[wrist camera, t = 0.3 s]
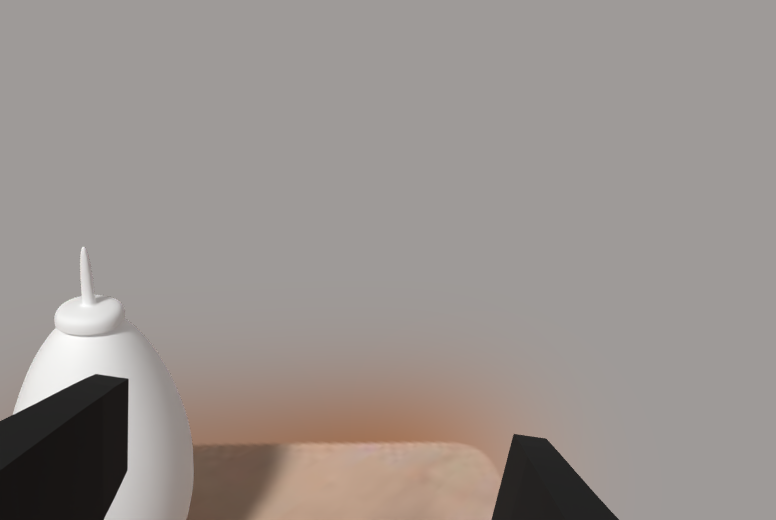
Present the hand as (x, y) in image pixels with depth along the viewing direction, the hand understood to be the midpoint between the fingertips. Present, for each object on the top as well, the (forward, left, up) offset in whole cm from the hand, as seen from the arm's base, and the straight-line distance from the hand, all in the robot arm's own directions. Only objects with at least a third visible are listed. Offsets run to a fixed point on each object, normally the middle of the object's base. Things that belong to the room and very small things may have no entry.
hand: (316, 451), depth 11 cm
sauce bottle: (+13, +12, -21) cm, 27 cm away
